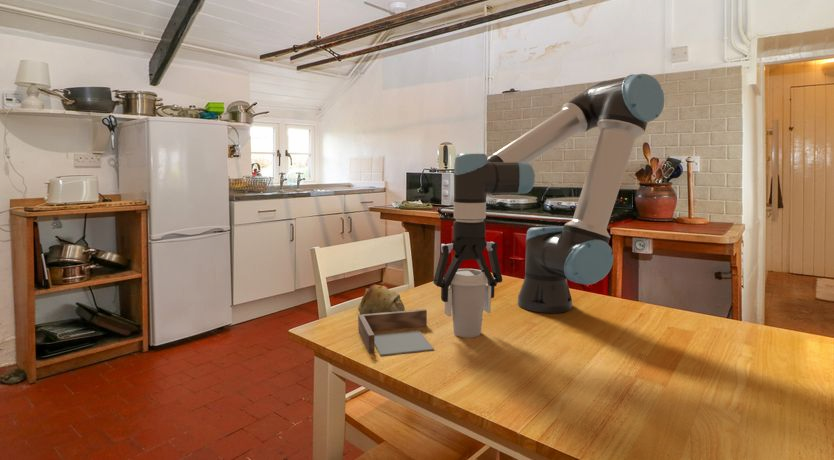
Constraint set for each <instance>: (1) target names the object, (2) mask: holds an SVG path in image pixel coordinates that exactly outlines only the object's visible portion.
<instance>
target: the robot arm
mask: <svg viewBox="0 0 834 460" xmlns="http://www.w3.org/2000/svg"><path fill="white" fill-rule="evenodd" d="M664 106H665V93H664V90H663V89H662V85H661V84H660V82H659V81H658V80H657V78H655V77H654V76H652V75H651V74H647V73H638V74H629V75H627V76H624V77H619V78H615V79H611V80H609V79H608V80H604V81H601V82H598V83H596V84H594V85H592V86H590V87H589V88H587V89H585V90H583V91H582V92H581V93H579V94H578V95H577V96H575V97H573V98H572V99H570V100H569V101H567V102H565V103H564V104H563V105H562V106H561V109H560V111H558V112H557V113H556V114H553V115H552V116H550V117H549V118H547V119H546V120H544V121H543V122H541V123H539V124H538V125H536V126H535V127H533V128H531V129H530V130H528V131H527V132H525V133H524V134H522V135H521V136H519V137H518V138H516V139H515V140H512V142H510V143H508V144H507V145H505V146H504V147H501V149H499V150H498V151H496V152H494V153H493V154H491V155H489V156H487V154H486V153H468V152H467V153H459V154H457V155H456V156H455V158H454V163H453V188H454V189H453V218H454V219H455V220H454V221H453V227H452V238H453V239H452V240H451V241H452V242H451V243H447V244H445V243H441V244H440V245H439V250H440V254H439V259H438V263H437V266H436V270H435V274H434V278H433V284H434V285H435V286H436V287H439V288H440V298H441V299H440V300H441V301H442V302H444V314H445V315H446V316H447V317H452V289H451V288H450V284H451V282H452V280H453V278H454V276H455V274H456V272H457V270H458V269H460V268H459V267H460V266H461V264H463V261H468V260H475V261H476V263H477V265H478V267H479V270H481V271H484V272H485V276H486V277H487V279H488V283H486V288H485V297H484V307H483V312H484V311H485V312H486V313H487V314H489V313H491V312H492V311H491V310H492V309H491V307H492V299H494V298H495V287H497V285H498V284H499V283H502V282H503V276H502V271H501V270H502V269H501V267H500V261H499V257H498V243H497V242H495V241H492V240H491V241H486V228H487V227H486V222H485V221H484V220H485V219H486V218H487V195H519V194H529V192H531V191H532V189H533V188H534V186H535V182H536V180H535V176H536V175H535V170H534V168H533V166H532V165H531V164H532V163H533V162H535V161H536V160H538V159H539V158H542V156H544V155H545V154H547V153H548V152H550V151H552V150H554V149H555V148H556V147H557V146H559V145H561V144H563V143H564V142H565V141H567V140H568V139H570V138H572V137H573V136H575V135H583V134H584V133H586V132H587V131H590V130H591V129H594V128H598V129H599V131H600V133H599V135H598V139H597V142H596V144H595V149H594V152H593V154H592V158H591V161H590V164H589V167H588V171H587V174H586V177H585V179H584V182H583V186H582V188H581V192H580V195H579V197H578V202H577V204H576V208H575V210H574V214H573V217H572V219H571V220H570V221H568V222H566V223H565V224H564V225H562V226H561V225H559V226H534V227H530V228H528V230H527V231H526V237H525V265H524V266H525V268H524V270H525V271H524V274H525V275H524V280H523V282H522V285H521V287H520V290H519V293H518V295H517V296H518V297H517V305H518V306H519V307H520V308H522V309H525V310H528V311H530V312H531V311H532V312H534V313H535V312H536V313H542V314H544V313H545V314H559V313H566V312H569V311H571V310H572V309H573V298H572V295H571V292H570V287H569V285H568V281H570V282H573V283H575V284H580V285H587V286H588V285H593V284H597V283H598V282H599V281H602V280H603V279H604V278H606V277H607V275H608V274H609V272H610V271H611V269H612V267H613V264H614V253H613V249H612V247H611V246H610V245H609V243H610V240H611V235H610V233H609V232H608V230H607V229H608V225H609V222H610V220H611V216H612V213H613V209H614V206H615V204H616V201H617V198H618V195H619V191H620V188H621V185H622V182H623V179H624V175H625V173H626V169H627V167H628V164H629V161H630V157H631V154H632V151H633V148H634V145H635V141H636V139H638V138H640V137H642V136H643V135H644V134H645V131H646V129H647V126H648V123H649V122H652V121H654V120H656V119H657V118H659V117H660V116H661V114H662V112H663V109H664ZM485 249H486V250H487V253H488V258H489V264H490V268H489V266H488V264H487V262H486V259H485V257H484V254H483V252H484V250H485ZM452 250H453V251H454V252H455V253H454V255H453V256H452V261H451V263H450V264H449V266H448V268H447V265H448V260H449V256H450V253H451V252H452ZM446 268H447V271H446ZM490 269H491V270H490ZM445 272H446V273H445Z"/></svg>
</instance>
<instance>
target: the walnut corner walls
mask: <svg viewBox="0 0 834 460" xmlns="http://www.w3.org/2000/svg"><path fill="white" fill-rule="evenodd" d="M427 312H428V310H427V309H423V308H422V309H412V310H404V311H397V312H385V313H373V314H361V313H360V314H358V315H357V317H358V318H357V321H358V324H357V326H358V329H357V331H358V333H359V335H360V337H361V339H362V341H363V344H364V345H365V348H366V350H367V352H368V354H374V353H375V349H376V346H375V344H374V335H375V333H374V332H375V331H386V330H396V329H407V328H418V327H419V328H420V327H426V326H427V323H428V321H427V319H428V318H427V316H428V315H427V314H428V313H427Z"/></svg>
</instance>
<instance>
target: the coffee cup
mask: <svg viewBox="0 0 834 460" xmlns="http://www.w3.org/2000/svg"><path fill="white" fill-rule="evenodd" d="M486 284H488V279H487V277H486V276H485V272H484V271H481V269H475V268H458V270H457V272H456V274H455V276H454V278H453V280H452V282H451V284H450V286H449V287H450V288H451V289H452V311H451V317H452V324H453V325H452V326H453V333H454V335H455V336H457V337H460V338H466V339H467V338H471V339H473V338H476V337H479V336H480V335H481V334H482V324H483V316H484V315H483V314H484V310H483V307H484V297H485V288H486Z"/></svg>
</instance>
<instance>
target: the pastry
mask: <svg viewBox="0 0 834 460" xmlns="http://www.w3.org/2000/svg"><path fill="white" fill-rule="evenodd" d="M357 310H358V312H359V313H360V315H361V314H373V313H385V312H397V311H406V310H405V305H404V303H403V301H402V299H401V294H399V293H397V292H396V291H393V290H391V289H389V288H388V287H387V286H385V285H378V284H371V285H370V287H368V288H367V287H366V288H365V292H364V294H363V296H362V297H361V302H360V303H359V304H358V307H357Z"/></svg>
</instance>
